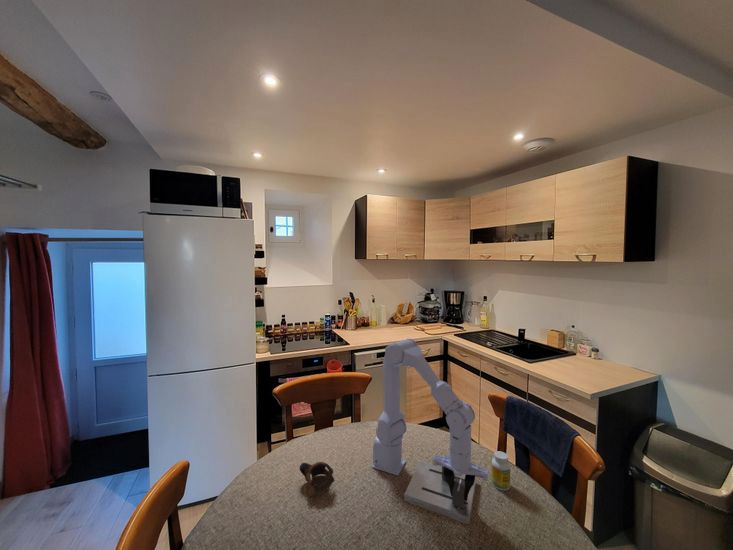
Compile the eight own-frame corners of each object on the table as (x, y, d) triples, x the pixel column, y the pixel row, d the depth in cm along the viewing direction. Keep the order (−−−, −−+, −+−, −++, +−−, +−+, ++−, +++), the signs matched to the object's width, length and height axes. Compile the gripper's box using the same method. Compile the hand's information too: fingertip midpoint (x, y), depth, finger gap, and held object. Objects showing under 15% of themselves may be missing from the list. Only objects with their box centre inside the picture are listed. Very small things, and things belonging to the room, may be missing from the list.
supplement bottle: (497, 476, 96) (498, 447, 96) (513, 486, 92) (514, 456, 92) (487, 483, 93) (488, 453, 93) (503, 494, 89) (504, 462, 89)
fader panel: (404, 500, 86) (404, 493, 86) (420, 465, 101) (420, 459, 101) (469, 524, 78) (469, 517, 78) (476, 482, 93) (476, 476, 93)
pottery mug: (338, 477, 96) (339, 465, 92) (324, 510, 88) (325, 497, 84) (306, 461, 99) (306, 448, 95) (290, 491, 91) (289, 478, 87)
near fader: (452, 504, 82) (452, 489, 82) (455, 492, 86) (455, 477, 86) (463, 508, 81) (463, 492, 80) (466, 495, 85) (466, 480, 85)
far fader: (441, 478, 92) (442, 464, 92) (445, 468, 97) (445, 455, 96) (451, 481, 91) (451, 467, 91) (454, 471, 95) (454, 458, 95)
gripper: (431, 449, 83) (430, 496, 83) (486, 465, 76) (485, 516, 77) (436, 436, 89) (436, 480, 89) (488, 449, 83) (487, 497, 83)
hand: (459, 496), depth 83 cm, fingers closed on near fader, 3 cm apart
